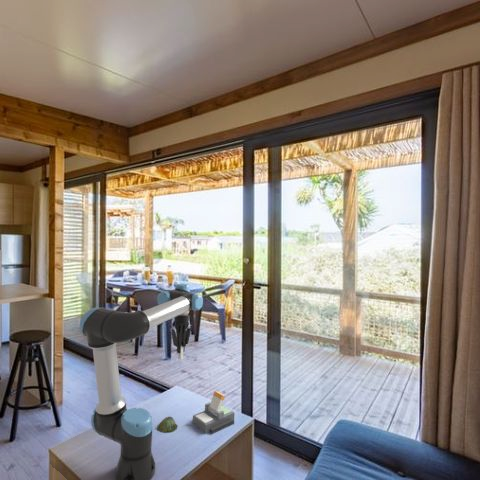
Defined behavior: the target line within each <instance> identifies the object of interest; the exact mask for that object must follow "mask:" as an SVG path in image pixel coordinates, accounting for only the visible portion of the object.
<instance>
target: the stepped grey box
mask: <svg viewBox="0 0 480 480" xmlns="http://www.w3.org/2000/svg"><path fill="white" fill-rule="evenodd" d="M210 404H211V401H210V402H207V403H205V404H204V410H203V411H201V412H198V413H196V414H193V415H192V424H193V425H194V426H196V427H197V428H198V429H199V430H200V431H202V432H203V433H204V434H208V433H210V428H212V427H215V426H217V425H219V424H221V423H223V422H225V421H228V420H230V419H233V420H234V421H235V412H234V411H233V410H231V409H230V408H228V407H226V405H223V404H222V406H221V409H220V411H219V412H217V415H216V414H214V413H213V412H212V411H210V410H209V409H208V406H209V405H210Z"/></svg>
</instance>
